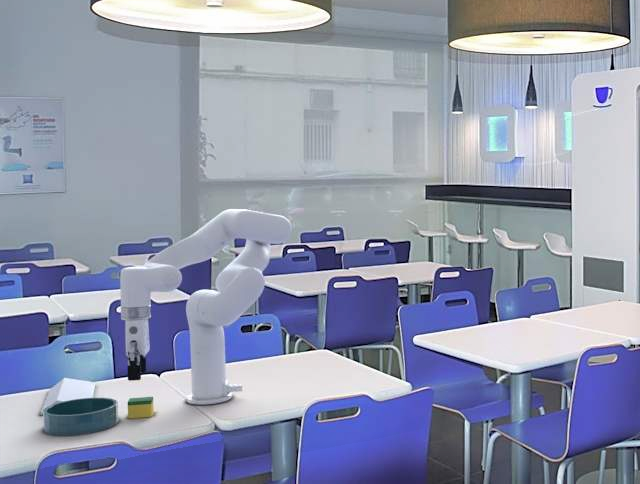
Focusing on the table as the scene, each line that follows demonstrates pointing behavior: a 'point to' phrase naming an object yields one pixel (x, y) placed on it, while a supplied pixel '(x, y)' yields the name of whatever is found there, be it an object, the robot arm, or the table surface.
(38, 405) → the table surface
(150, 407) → the sponge
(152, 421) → the table surface
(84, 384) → the crown molding
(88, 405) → the bowl
